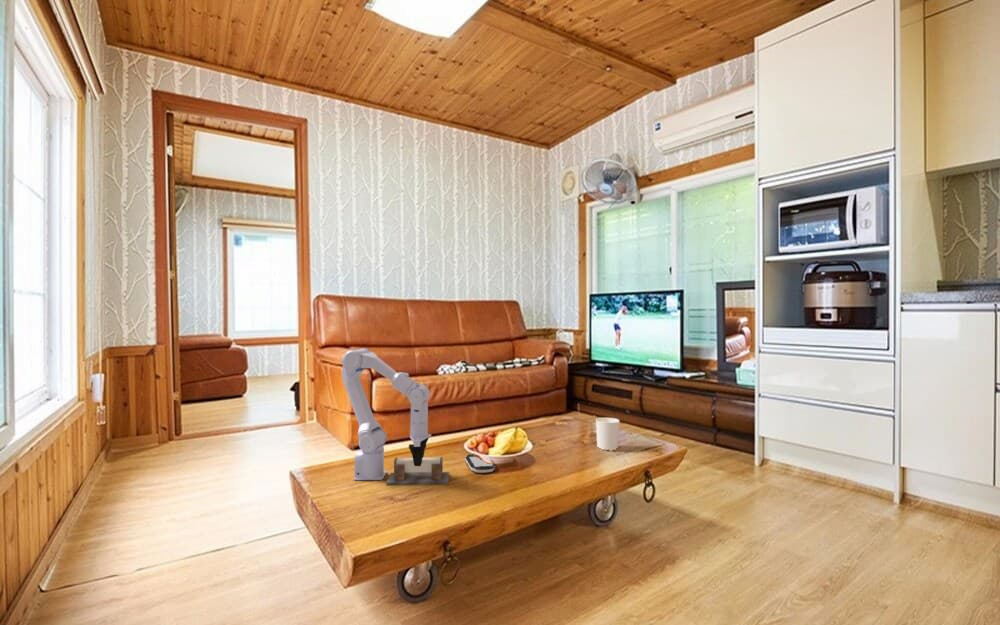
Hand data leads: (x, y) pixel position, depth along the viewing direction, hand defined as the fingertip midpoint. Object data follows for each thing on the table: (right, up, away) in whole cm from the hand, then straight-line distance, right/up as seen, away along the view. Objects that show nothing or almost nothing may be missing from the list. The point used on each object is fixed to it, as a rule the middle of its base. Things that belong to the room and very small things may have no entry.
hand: (418, 462), depth 159 cm
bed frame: (0, -6, 0) cm, 6 cm away
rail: (0, -3, 0) cm, 3 cm away
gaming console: (+20, -7, +15) cm, 26 cm away
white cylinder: (+72, -7, +38) cm, 82 cm away
